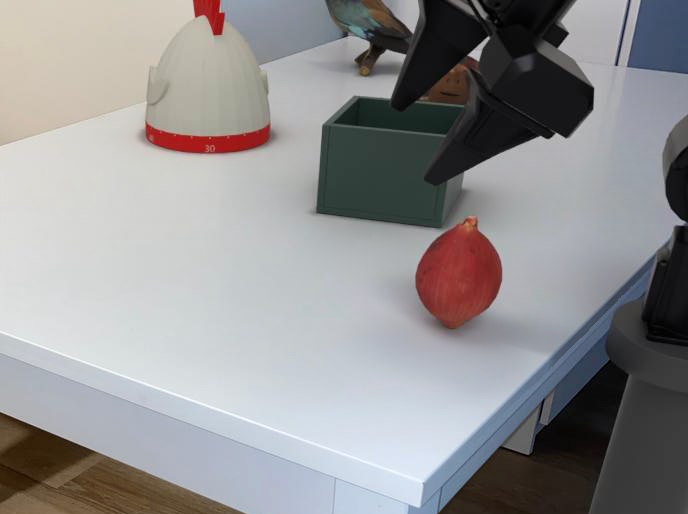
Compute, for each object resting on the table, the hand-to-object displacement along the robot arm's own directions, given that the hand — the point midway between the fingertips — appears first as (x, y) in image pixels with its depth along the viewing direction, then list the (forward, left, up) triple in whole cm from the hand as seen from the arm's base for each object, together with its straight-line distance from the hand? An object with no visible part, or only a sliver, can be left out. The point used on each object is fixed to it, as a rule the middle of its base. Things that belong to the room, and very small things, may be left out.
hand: (410, 144), depth 65 cm
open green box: (+5, -26, -12) cm, 29 cm away
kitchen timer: (+29, -41, -12) cm, 52 cm away
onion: (-5, 0, -12) cm, 13 cm away
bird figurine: (+19, -81, -12) cm, 84 cm away
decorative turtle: (+5, -54, -12) cm, 55 cm away
